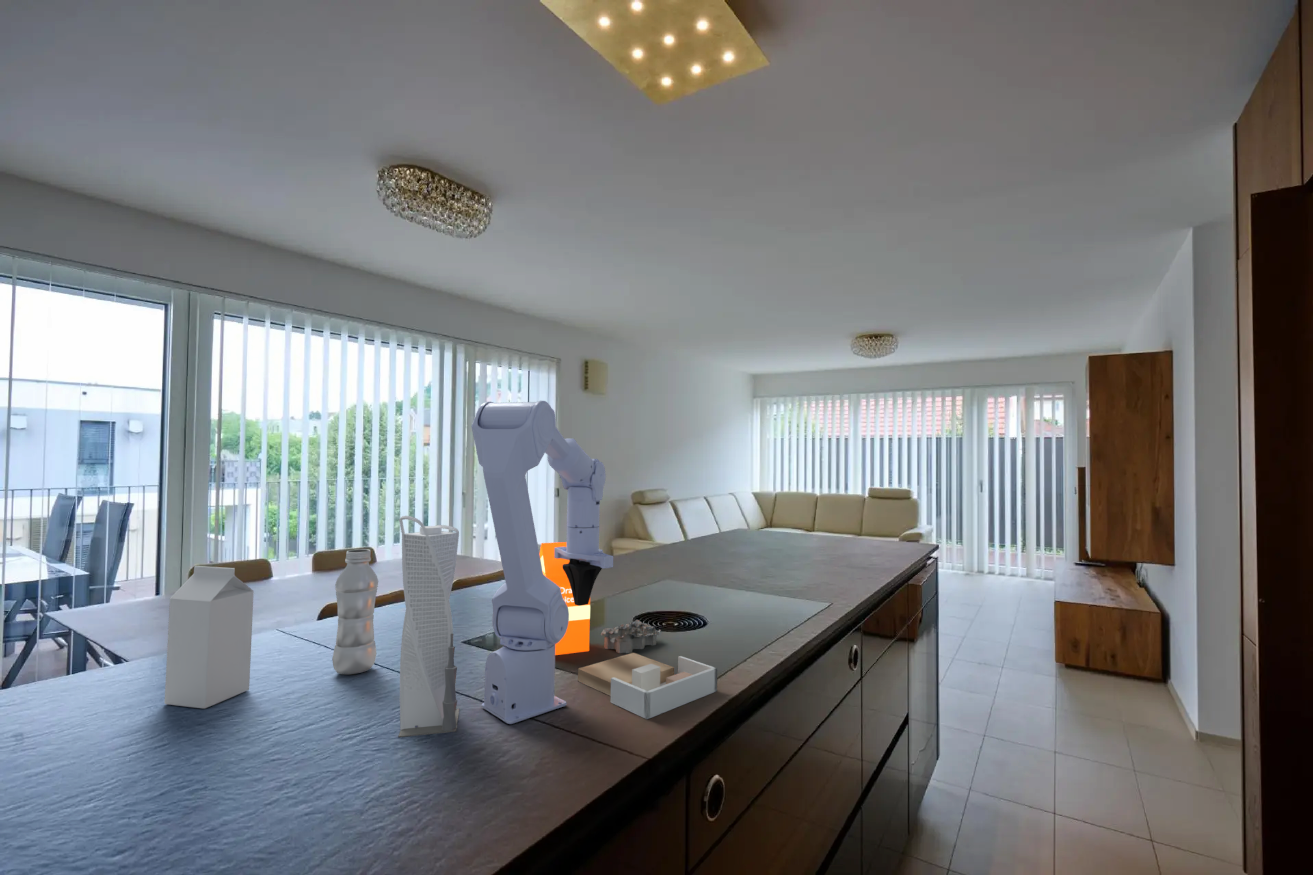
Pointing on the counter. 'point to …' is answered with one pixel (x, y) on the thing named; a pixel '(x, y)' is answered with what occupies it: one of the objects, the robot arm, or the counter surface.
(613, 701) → the tray
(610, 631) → the egg carton
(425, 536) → the skyscraper
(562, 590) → the orange juice
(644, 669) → the cream tile
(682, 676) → the terracotta tile
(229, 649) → the milk carton
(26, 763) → the counter surface
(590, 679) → the flat wooden plank
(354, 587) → the plastic bottle
